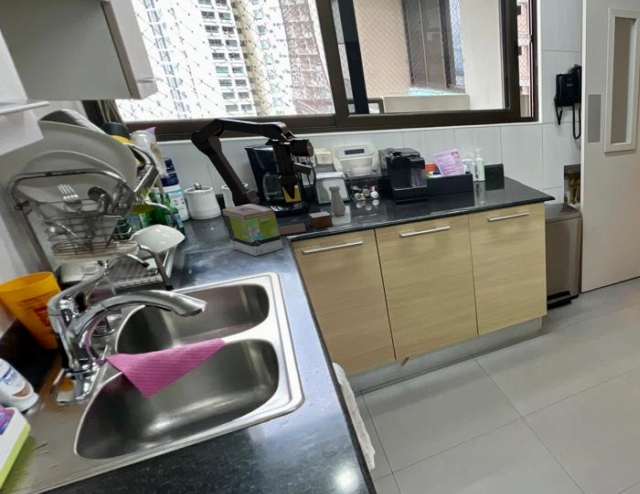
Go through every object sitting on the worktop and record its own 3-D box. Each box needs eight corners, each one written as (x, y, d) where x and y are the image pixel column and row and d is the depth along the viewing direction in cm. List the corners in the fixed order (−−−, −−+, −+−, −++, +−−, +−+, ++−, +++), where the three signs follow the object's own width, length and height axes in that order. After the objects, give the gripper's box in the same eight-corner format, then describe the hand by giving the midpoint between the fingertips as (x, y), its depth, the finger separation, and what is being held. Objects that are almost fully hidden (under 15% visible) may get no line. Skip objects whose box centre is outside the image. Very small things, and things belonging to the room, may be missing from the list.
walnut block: (315, 228, 187) (312, 217, 185) (311, 224, 192) (308, 214, 190) (332, 225, 191) (330, 214, 189) (328, 221, 196) (326, 211, 194)
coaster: (270, 237, 177) (270, 236, 177) (270, 228, 186) (270, 227, 186) (306, 232, 183) (306, 230, 183) (304, 224, 192) (304, 222, 192)
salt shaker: (342, 216, 203) (336, 187, 198) (329, 216, 203) (323, 186, 198) (349, 212, 208) (343, 183, 203) (336, 212, 208) (330, 183, 203)
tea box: (284, 248, 166) (274, 208, 161) (254, 257, 158) (242, 215, 153) (262, 240, 173) (251, 202, 168) (232, 248, 165) (220, 208, 160)
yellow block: (286, 202, 179) (283, 189, 177) (285, 199, 183) (282, 186, 181) (301, 200, 182) (298, 187, 180) (300, 197, 186) (297, 185, 184)
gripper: (309, 159, 173) (318, 200, 179) (305, 152, 187) (313, 190, 193) (274, 161, 167) (284, 203, 173) (273, 154, 182) (282, 193, 188)
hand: (292, 197), depth 182 cm, fingers closed on yellow block, 5 cm apart
